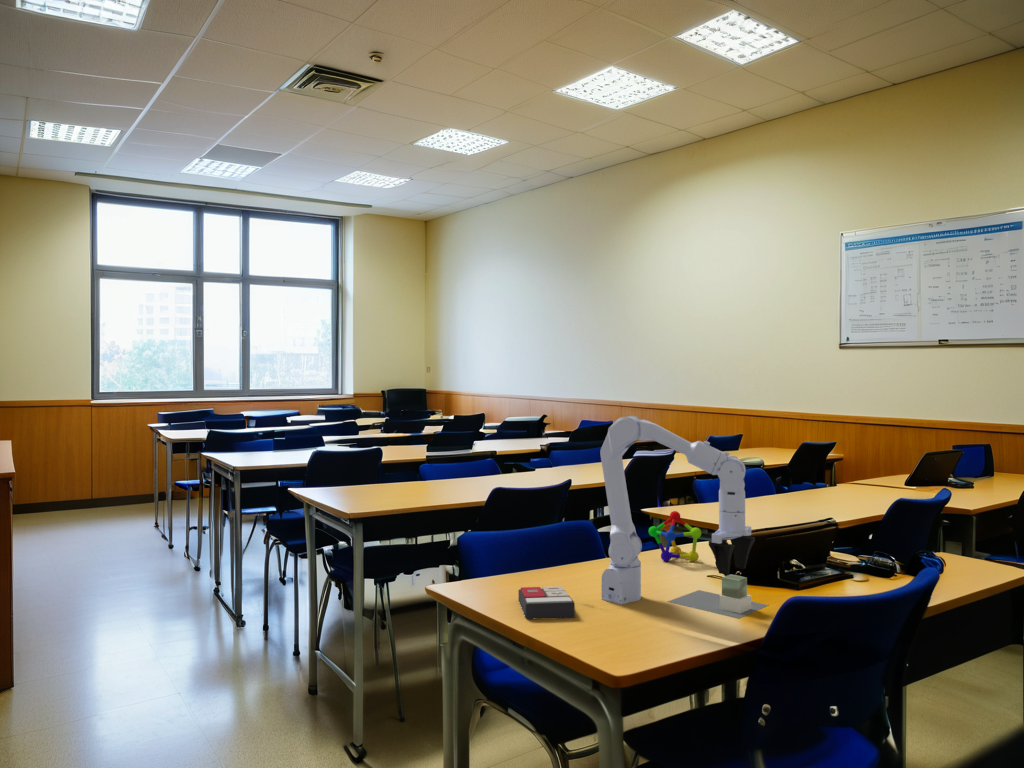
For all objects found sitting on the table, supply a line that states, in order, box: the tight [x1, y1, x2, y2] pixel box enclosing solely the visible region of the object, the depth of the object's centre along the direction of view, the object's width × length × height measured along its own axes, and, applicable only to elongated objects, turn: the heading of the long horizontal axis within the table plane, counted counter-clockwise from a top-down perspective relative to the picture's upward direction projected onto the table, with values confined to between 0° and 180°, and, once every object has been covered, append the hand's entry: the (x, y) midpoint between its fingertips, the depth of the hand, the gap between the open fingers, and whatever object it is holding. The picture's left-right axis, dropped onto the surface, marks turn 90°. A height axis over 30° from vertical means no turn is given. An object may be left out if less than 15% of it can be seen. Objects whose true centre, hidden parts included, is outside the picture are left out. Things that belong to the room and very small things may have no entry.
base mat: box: [667, 589, 770, 620], centre depth 164 cm, size 14×18×1 cm
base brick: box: [719, 594, 752, 614], centre depth 160 cm, size 5×5×3 cm
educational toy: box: [648, 510, 702, 562], centre depth 212 cm, size 16×13×15 cm
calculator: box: [517, 585, 576, 620], centre depth 164 cm, size 11×4×15 cm
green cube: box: [721, 573, 748, 599], centre depth 160 cm, size 4×4×4 cm
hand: (732, 570), depth 161 cm, fingers open, 7 cm apart
